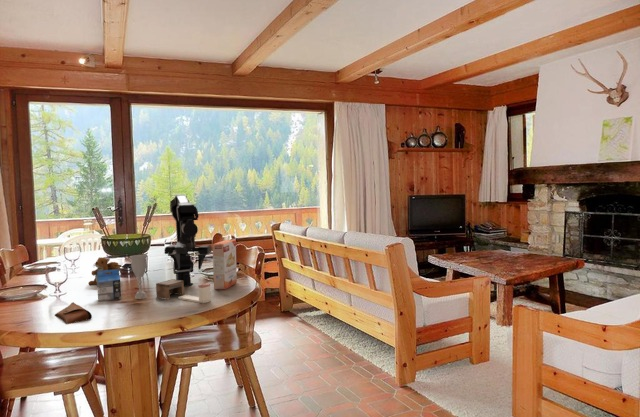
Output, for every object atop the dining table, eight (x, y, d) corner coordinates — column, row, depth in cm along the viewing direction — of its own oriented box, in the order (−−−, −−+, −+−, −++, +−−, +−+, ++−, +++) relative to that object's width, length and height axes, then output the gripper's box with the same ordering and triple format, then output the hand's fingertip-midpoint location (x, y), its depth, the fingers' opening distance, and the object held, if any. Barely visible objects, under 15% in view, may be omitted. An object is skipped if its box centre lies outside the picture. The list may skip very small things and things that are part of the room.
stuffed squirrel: (86, 285, 220) (84, 258, 219) (110, 279, 233) (108, 253, 232) (101, 286, 216) (100, 259, 215) (124, 280, 229) (123, 254, 228)
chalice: (153, 295, 196) (150, 254, 195) (142, 300, 190) (139, 257, 188) (139, 294, 198) (137, 254, 197) (128, 299, 192) (125, 257, 191)
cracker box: (225, 290, 203) (223, 244, 202) (213, 289, 204) (211, 243, 203) (238, 282, 217) (236, 239, 215) (226, 282, 218) (224, 239, 217)
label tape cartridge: (98, 301, 189) (96, 272, 188) (98, 299, 192) (96, 271, 192) (121, 298, 193) (119, 270, 192) (120, 296, 196) (119, 268, 196)
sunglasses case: (52, 314, 172) (61, 298, 174) (70, 320, 176) (78, 303, 178) (67, 324, 159) (76, 306, 161) (86, 330, 164) (95, 312, 166)
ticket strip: (178, 298, 190) (177, 282, 189) (185, 296, 193) (185, 280, 193) (203, 303, 182) (202, 286, 181) (210, 301, 185) (210, 284, 185)
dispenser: (156, 297, 194) (155, 283, 193) (173, 292, 201) (172, 279, 201) (167, 299, 190) (166, 285, 190) (184, 294, 197) (183, 280, 197)
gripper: (157, 236, 184) (159, 273, 185) (201, 236, 182) (203, 274, 183) (169, 232, 195) (171, 267, 196) (211, 232, 193) (212, 268, 194)
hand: (189, 269), depth 192 cm, fingers open, 9 cm apart
